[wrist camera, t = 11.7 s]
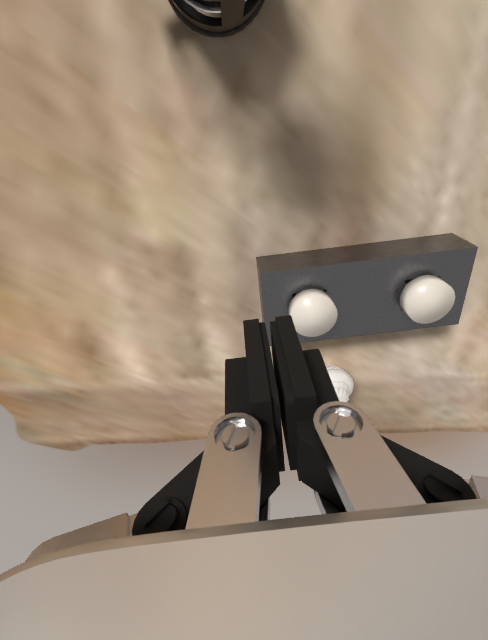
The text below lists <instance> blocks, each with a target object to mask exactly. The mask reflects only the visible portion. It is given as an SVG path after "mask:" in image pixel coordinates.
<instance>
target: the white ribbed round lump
mask: <svg viewBox="0 0 488 640" xmlns="http://www.w3.org/2000/svg"><path fill="white" fill-rule="evenodd" d="M325 366H326V368H327V371H328V373H329V376H330V379H331V381H332V384H333V386H334V389H335V391H336V394H337V396H338V399H339V401H341V402H347V403H348V400H349V396H350V395H351V393H352V391H353V388H354V382H353V379H352V378H351V376H350V375H349V374H348V373H347V372H345V371H344V370H343V369H341V368H339V367H337V366H335V365H333V364H330V363H329V364H328V363H327V364H325Z"/></svg>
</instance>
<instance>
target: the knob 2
mask: <svg viewBox="0 0 488 640" xmlns="http://www.w3.org/2000/svg"><path fill="white" fill-rule="evenodd" d="M454 302H455V292H454V290H453V288H452V287H451V286H450V285H448V284H447V283H446V282H444V281H443V280H442V279H440V278H439V277H437V276H435V275H423V276H420V277H417V278H415V279H410V280H405V286H404V289H403V291H402V293H401V295H400V306H401V308H402V309H403V310H404V311H405V313H406V314H407V315H408V316H409V317H410V318H411V319H412V320H413V321H415V322H417V323H421V324H427V323H432V322H435V321H437V320H439V319H441V318H442V317H444V316H445V315H446V314H447V313H448V312H449V311H450V310H451V308H452V307H453V304H454Z"/></svg>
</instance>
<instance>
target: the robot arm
mask: <svg viewBox="0 0 488 640" xmlns="http://www.w3.org/2000/svg"><path fill="white" fill-rule="evenodd" d="M243 324H244V337H245V349H246V357H243V358H234V359H226V360H225V415H224V416H222V417H220V418H219V419H217V420H216V421H215V422H214V423H213V425H212V426H211V428H210V430H209V432H208V436H207V440H206V445H205V449H204V451H203V452H202V453H201V454H200V455H199V456H197V457H196V458H195V459H194V460H193V461H192V462H191V463H190V464H189V465H187V466H186V467H185V468H184V469H183V470H182V471H181V472H180V473H179V474H178V475H177V476H175V477H174V478H173V479H172V480H171V481H170V482H169V483H168V484H167V485H165V486H164V487H163V488H162V489H161V490H160V491H159V492H158V493H157V494H156V495H155V496H153V497H152V498H151V499H150V500H149V501H148V502H147V503H146V504H145V505H144V506H143V507H142V508H141V510H140V511H139V512H138V513H137V514H134V515H131V516H129V515H128V514H127V513H124V514H121V515H118V516H115V517H112V518H110V519H106V520H104V521H101V522H97V523H94V524H92V525H89V526H86V527H83V528H80V529H77V530H74V531H71V532H68V533H65V534H62V535H59V536H56V537H53V538H51V539H49V540H47V541H45V542H43V543H42V544H41V545H39V546H38V547H37V548H36V549H35V550H34V551H32V553H31V554H30V555H29V557H28V558H27V560H26V561H25V562H24V563H22V564H20V565H17V566H15V567H14V568H12V569H10V570H8V571H6V572H4V573H2V574H0V640H488V477H482V476H471V478H470V480H469V479H462V477H460V476H459V475H457V474H456V473H454V472H453V471H451V470H449V469H447V468H445V467H443V466H441V465H439V464H437V463H435V462H433V461H431V460H429V459H427V458H425V457H423V456H421V455H419V454H417V453H415V452H413V451H411V450H409V449H407V448H405V447H403V446H401V445H399V444H397V443H395V442H393V441H391V440H389V439H387V438H385V437H383V436H381V435H380V434H379V433H378V431H377V430H376V428H375V427H374V425H373V424H372V422H371V421H370V420H369V418H368V417H367V415H366V414H365V413H364V412H363V411H362V410H361V409H360V408H358V407H357V406H355V405H353V404H350V403H347V402H341V401H339V399H338V396H337V394H336V391H335V389H334V386H333V384H332V381H331V379H330V376H329V373H328V371H327V368H326V366H325V363H324V361H323V358H322V356H321V353H320V351H319V349H311V350H303V351H302V348H301V345H300V342H299V339H298V336H297V332H296V329H295V326H294V323H293V320H292V317H291V315H286V316H278V317H275V321H270V332H271V344H272V356H273V363H272V358H271V352H270V347H269V341H268V336H267V330H266V325H265V322H262V323H259V319H253V320H244V321H243ZM273 367H274V368H273ZM281 421H282V427H283V432H284V438H285V443H286V449H287V454H288V460H289V465H290V470H297V472H298V478H299V481H302V482H303V483H305V484H306V485H308V486H309V487H311V488H312V489H313V490H314V494H315V498H316V501H317V504H318V506H319V508H320V511H321V514H322V515H314V516H304V517H295V518H286V519H276V520H270V495H271V494H272V493H273V492H274V491H275V490H276V488H277V487H278V486H279V485H280V478H279V472H280V471H285V466H284V453H283V441H282V428H281Z"/></svg>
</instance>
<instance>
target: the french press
mask: <svg viewBox="0 0 488 640" xmlns="http://www.w3.org/2000/svg"><path fill="white" fill-rule="evenodd" d="M168 1H169V2H170V4H171V6H172V7H173V9H174V11H175V12H176V14H177V15H178V16H179V17H180V18H181V20H182V21H183V22H184V23H185V24H187V25H188V26H189V27H190V28H191V29H193V30H194V31H196V32H198V33H200V34H202V35H206V36H209V37H226V36H230V35H233V34H235V33H237V32H239V31H241V30H243V29H244V28H245V27H246V26H247V25H248V24H250V23H251V21H252V20H253V19H254V18H255V16H256V15H257V14H258V12H259V10H260V8H261V6H262V4H263V3H264V0H168ZM192 6H193V7H195V8H197V9H198V10H202V11H206V12H209V13H221V18H213V17H209V16H205V15H203V14H202V13H200V12H198V11H197V10H196V9H194V8H193V7H192Z"/></svg>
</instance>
